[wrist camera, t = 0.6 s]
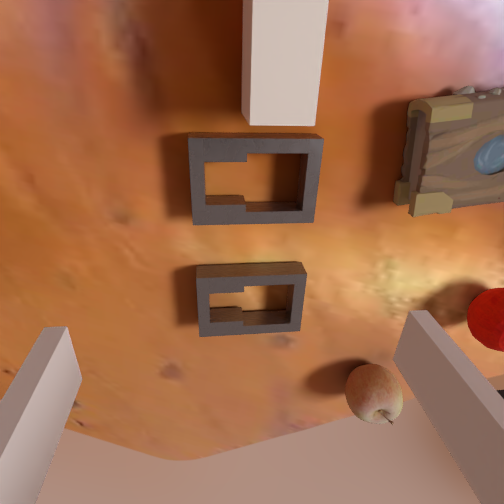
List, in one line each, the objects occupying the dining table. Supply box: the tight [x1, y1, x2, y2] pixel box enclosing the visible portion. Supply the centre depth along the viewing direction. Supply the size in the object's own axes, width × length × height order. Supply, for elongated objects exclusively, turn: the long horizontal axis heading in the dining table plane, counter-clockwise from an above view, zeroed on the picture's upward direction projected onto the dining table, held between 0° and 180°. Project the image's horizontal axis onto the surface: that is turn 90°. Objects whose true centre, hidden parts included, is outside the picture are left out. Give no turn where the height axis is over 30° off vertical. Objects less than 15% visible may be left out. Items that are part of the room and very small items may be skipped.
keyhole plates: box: [188, 133, 324, 337], centre depth 36 cm, size 22×12×2 cm, turn 178°
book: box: [393, 86, 504, 217], centre depth 33 cm, size 15×11×5 cm
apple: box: [467, 288, 504, 352], centre depth 42 cm, size 8×8×7 cm
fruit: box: [345, 364, 403, 425], centre depth 46 cm, size 8×7×8 cm
